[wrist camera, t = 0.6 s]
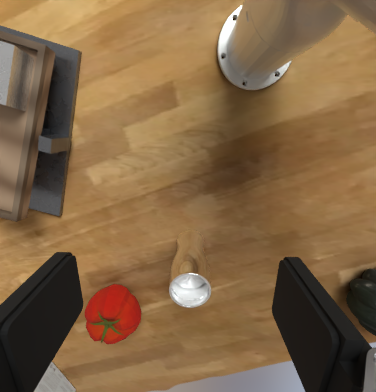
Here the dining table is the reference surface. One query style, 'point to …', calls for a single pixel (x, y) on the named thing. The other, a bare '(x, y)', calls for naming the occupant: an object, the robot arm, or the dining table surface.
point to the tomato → (112, 314)
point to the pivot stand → (54, 128)
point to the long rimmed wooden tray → (23, 132)
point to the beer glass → (190, 271)
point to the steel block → (14, 76)
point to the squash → (364, 300)
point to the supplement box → (54, 381)
